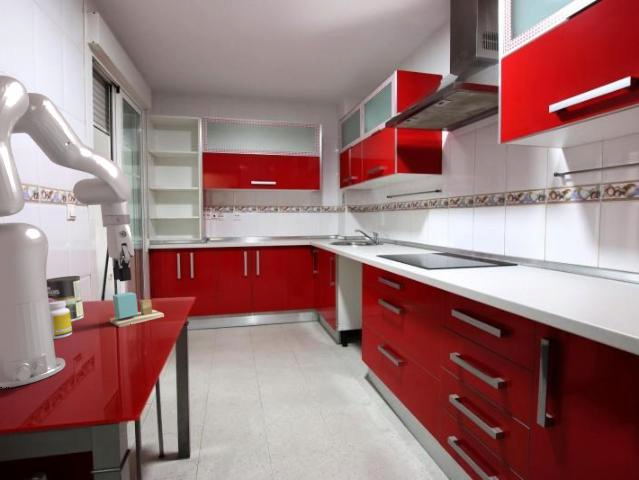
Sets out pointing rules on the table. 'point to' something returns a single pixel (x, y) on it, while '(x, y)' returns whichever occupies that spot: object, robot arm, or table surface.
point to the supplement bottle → (60, 319)
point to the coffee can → (67, 294)
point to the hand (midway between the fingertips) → (122, 279)
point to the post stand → (139, 315)
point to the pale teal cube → (125, 305)
